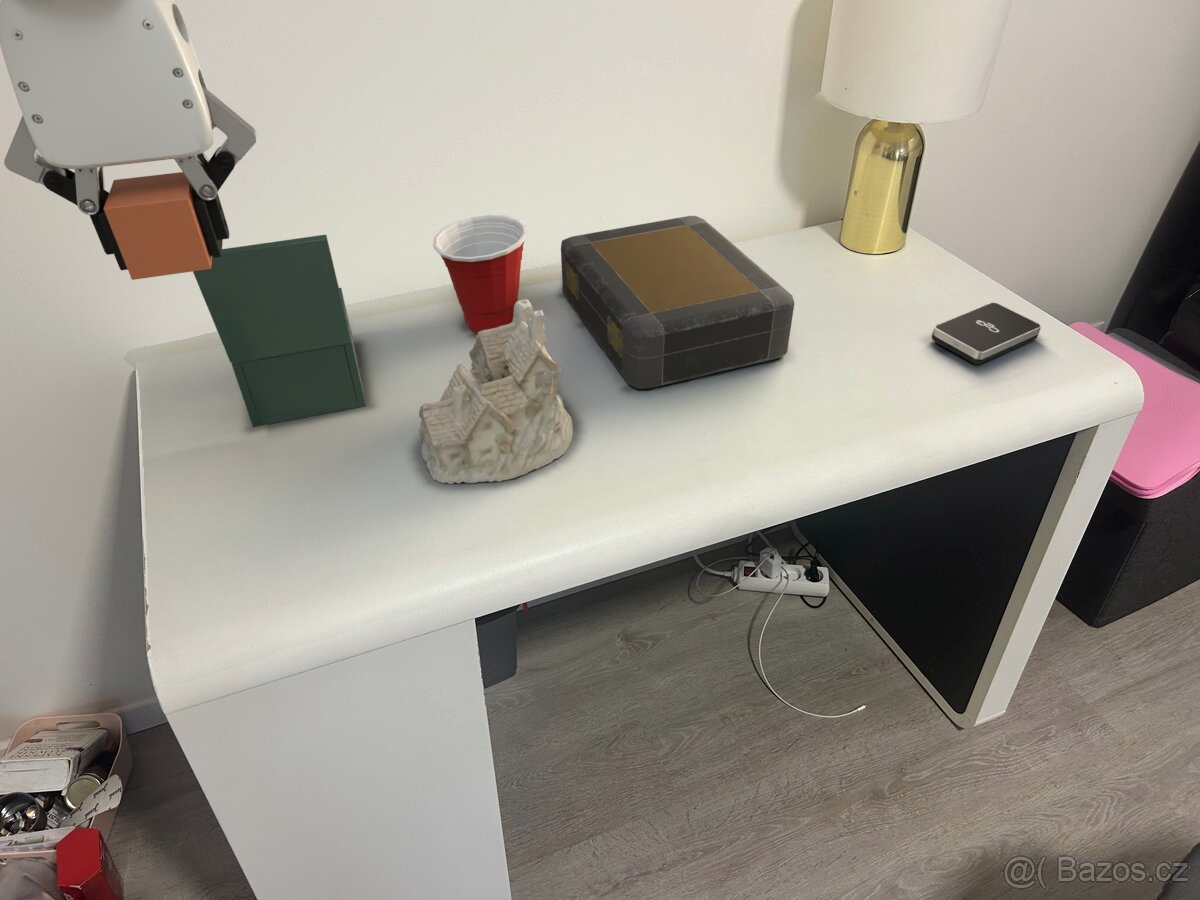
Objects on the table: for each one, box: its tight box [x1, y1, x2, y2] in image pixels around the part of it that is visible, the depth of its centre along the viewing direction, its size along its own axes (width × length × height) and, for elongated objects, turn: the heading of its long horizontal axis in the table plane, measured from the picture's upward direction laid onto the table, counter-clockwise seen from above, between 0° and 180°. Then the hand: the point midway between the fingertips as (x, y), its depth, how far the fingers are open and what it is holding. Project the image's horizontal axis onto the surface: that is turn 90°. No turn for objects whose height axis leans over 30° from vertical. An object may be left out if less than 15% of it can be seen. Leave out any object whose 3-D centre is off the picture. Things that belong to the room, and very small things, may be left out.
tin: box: [231, 287, 367, 428], centre depth 91 cm, size 13×12×8 cm
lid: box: [192, 234, 351, 364], centre depth 79 cm, size 13×12×1 cm
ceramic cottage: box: [418, 298, 574, 485], centre depth 82 cm, size 16×16×15 cm
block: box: [104, 171, 212, 281], centre depth 57 cm, size 5×5×5 cm
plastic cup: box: [432, 214, 528, 334], centre depth 100 cm, size 11×11×12 cm
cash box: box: [560, 215, 795, 390], centre depth 101 cm, size 25×20×8 cm
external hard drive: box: [931, 301, 1042, 365], centre depth 99 cm, size 7×11×2 cm, turn 122°
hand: (172, 252), depth 58 cm, fingers closed on block, 5 cm apart
